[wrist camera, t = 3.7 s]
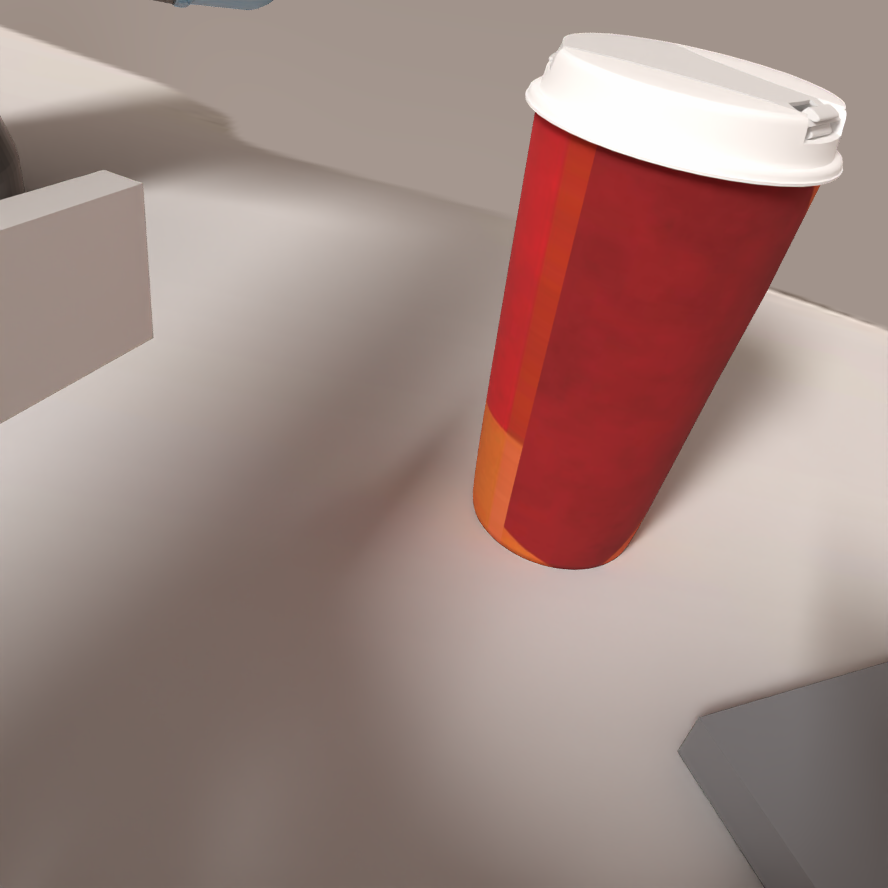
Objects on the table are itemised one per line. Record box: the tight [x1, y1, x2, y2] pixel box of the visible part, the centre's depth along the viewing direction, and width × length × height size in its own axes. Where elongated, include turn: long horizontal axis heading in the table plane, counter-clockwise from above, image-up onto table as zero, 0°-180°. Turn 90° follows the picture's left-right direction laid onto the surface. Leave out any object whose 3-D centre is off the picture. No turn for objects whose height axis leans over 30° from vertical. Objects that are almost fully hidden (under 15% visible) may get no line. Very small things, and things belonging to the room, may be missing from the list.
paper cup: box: [473, 33, 846, 570], centre depth 22 cm, size 8×8×14 cm
